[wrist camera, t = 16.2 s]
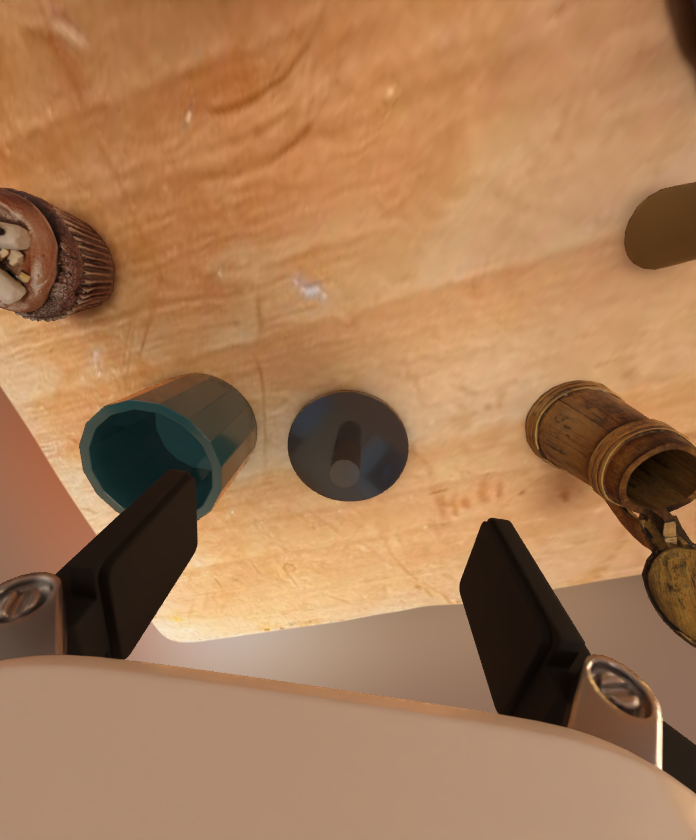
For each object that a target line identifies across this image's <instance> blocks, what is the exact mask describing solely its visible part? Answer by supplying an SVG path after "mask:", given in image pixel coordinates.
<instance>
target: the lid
mask: <svg viewBox="0 0 696 840" xmlns="http://www.w3.org/2000/svg"><path fill="white" fill-rule="evenodd" d="M288 453H289V458H290V461H291V464H292V466H293V469H294V470H295V472H296V474H297V475H298V476H299V478H300V479H301V480H302V481H303V482H304V483H305V484H306V485H307V486H308V487H309V488H311V489H312V490H313V491H315V492H317V493H318V494H320V495H322V496H325V497H327V498H330V499H334V500H339V501H361V500H365V499H369V498H372V497H375V496H377V495H379V494H381V493H383V492H384V491H385V490H387V489H388V488H389V487H391V486H392V485H393V484H394V483H395V482H396V480H397V479H398V478H399V476H400V475H401V473H402V472H403V470H404V467H405V465H406V462H407V458H408V438H407V434H406V430H405V427H404V425H403V423H402V421H401V419H400V418H399V416H398V415H397V414H396V412H395V411H394V410H393V409H392V408H391V407H390V406H389V405H387V404H386V403H385V402H383V401H382V400H380V399H379V398H377V397H375V396H373V395H370V394H367V393H364V392H359V391H352V390H341V391H334V392H330V393H327V394H324V395H322V396H319V397H317V398H316V399H314V400H312V401H311V402H309V403H308V404H307V405H306V406H305V407H304V408H303V409H302V410H301V411H300V412H299V414H298V415H297V417H296V418H295V420H294V422H293V424H292V426H291V429H290V432H289V437H288Z"/></svg>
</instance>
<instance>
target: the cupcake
mask: <svg viewBox="0 0 696 840" xmlns="http://www.w3.org/2000/svg"><path fill="white" fill-rule="evenodd" d="M113 277H114V265H113V262H112V259H111V254H110V252H109V249H108V248H107V246H106V244H105V242H103V241H102V239H101V237H100V236H99V235H97V233H96V232H95V231H94V230H93V229H92V228H91V227H90V226H89V225H87V224H86V223H84V222H83V221H81V220H79V219H77V218H76V217H74V216H72V215H71V214H69V213H67V212H65V211H62V210H60V209H58V208H57V207H55V206H53V205H52V204H50V203H48V202H47V201H45V200H43V199H41V198H38V197H36V196H33V195H31V194H28V193H25V192H23V191H17V190H14V189H11V188H0V308H3V309H6V310H9V311H13V312H14V313H15V314H16V315H22V317H23V318H25V319H28V318H30V319H31V320H32V321H33V320H37V321H38V322H39V321H41V320H44V321H46V322H49V321H51V320H52V321H55V320H58V319H63V318H65V317H67V316H69V315H71V314H74V313H77V312H80V311H83V310H87V309H91V308H93V307H96V306H99V305H102V303H103V302H104V301H105V300H106V299H108V298H109V295H110V293H111V292H112V291H113V285H112V282H113Z"/></svg>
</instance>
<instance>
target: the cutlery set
mask: <svg viewBox="0 0 696 840" xmlns="http://www.w3.org/2000/svg"><path fill="white" fill-rule="evenodd" d="M691 1H692V5H693V8H694V12H695V15H696V0H691Z"/></svg>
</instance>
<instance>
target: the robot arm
mask: <svg viewBox="0 0 696 840" xmlns="http://www.w3.org/2000/svg"><path fill="white" fill-rule="evenodd" d="M196 548H197V506H196V479H195V477H191V474H190V472H188V471H182V470H175V469H169V470H168V471H167V472H166V473H164V474H163V475H162V476H161V477H160V478H159V479H158V480H157V481H156V482H155V483H154V484H153V485H152V486H151V487H150V488H148V489H147V490H146V491H145V492H144V493H143V494H142V495H141V496H140V497H139V498H138V499H137V500H136V501H135V502H134V503H132V504H131V505H130V506H129V507H128V508H127V509H125V510H124V511H123V512H122V513H121V514H120V515H119V516H117V517H116V518H115V519H114V520H113V521H112V522H111V523H110V524H109V525H108V526H107V527H106V528H105V529H104V530H102V531H101V532H100V533H99V534H98V535H97V536H96V537H95V538H94V539H93V540H92V541H91V542H90V543H89V544H88V545H87V546H85V547H84V548H83V549H82V550H81V551H80V552H79V553H78V554H77V555H76V556H75V557H74V558H72V559H71V560H70V561H69V562H68V563H67V564H66V565H65V566H64V567H63V568H62V569H61V570H60V571H59V572H57V573H56V574H51V573H47V572H38V573H30V574H25V575H21V576H18V577H15V578H13V579H10V580H7V581H6V582H4V583H2V584H0V840H696V745H695V744H693V743H692V742H691V741H690V740H688V739H687V738H686V737H684V736H683V735H682V734H680V733H679V732H678V731H676V730H675V729H674V728H672V727H671V726H669V725H668V724H667V723H665V722H664V721H663V716H662V711H661V707H660V705H659V703H658V701H657V699H656V697H655V695H654V694H653V692H652V691H651V690H650V688H649V687H648V686H647V685H646V684H645V682H644V681H643V680H642V679H641V678H639V677H638V676H637V675H636V674H635V673H634V672H633V671H631V670H630V669H629V668H627V667H626V666H625V665H623V664H621V663H620V662H618V661H616V660H614V659H613V658H610V657H607V656H604V655H597V654H593V655H591V654H590V653H589V651H588V649H587V648H586V646H585V642H584V640H583V639H582V637H581V636H580V634H579V632H578V631H577V629H576V627H575V626H574V624H573V622H572V621H571V619H570V618H569V616H568V614H567V613H566V611H565V609H564V608H563V606H562V605H561V603H560V601H559V600H558V598H557V596H556V595H555V593H554V592H553V590H552V588H551V587H550V585H549V583H548V582H547V580H546V578H545V577H544V575H543V574H542V572H541V570H540V569H539V567H538V565H537V564H536V562H535V561H534V559H533V557H532V556H531V554H530V552H529V551H528V549H527V548H526V546H525V544H524V543H523V541H522V539H521V538H520V536H519V535H518V533H517V531H516V530H515V528H514V526H513V525H512V523H511V522H510V521H508V520H503V519H496V518H489V519H488V521H487V522H486V521H484V522H483V523H482V524H481V527H480V530H479V532H478V535H477V538H476V540H475V543H474V546H473V549H472V551H471V554H470V557H469V559H468V562H467V565H466V567H465V570H464V573H463V575H462V578H461V581H460V595H461V598H462V602H463V605H464V608H465V611H466V615H467V618H468V621H469V624H470V628H471V631H472V634H473V637H474V641H475V644H476V647H477V650H478V654H479V657H480V660H481V663H482V667H483V670H484V673H485V676H486V680H487V683H488V686H489V689H490V693H491V696H492V699H493V702H494V706H495V708H496V710H497V712H498V713H499V714H495V713H489V712H483V711H477V710H471V709H464V708H458V707H451V706H444V705H438V704H431V703H425V702H418V701H411V700H405V699H399V698H392V697H385V696H378V695H372V694H365V693H359V692H352V691H345V690H338V689H331V688H325V687H318V686H311V685H304V684H297V683H290V682H283V681H276V680H269V679H262V678H255V677H248V676H241V675H234V674H226V673H219V672H213V671H205V670H198V669H191V668H184V667H177V666H170V665H162V664H153V663H146V662H137V661H129V660H124V659H126V658H127V657H128V656H129V655H130V654H131V652H132V650H133V649H134V647H135V646H136V644H137V643H138V641H139V640H140V638H141V636H142V635H143V633H144V632H145V630H146V629H147V627H148V625H149V624H150V622H151V621H152V619H153V618H154V616H155V615H156V613H157V611H158V610H159V608H160V607H161V605H162V604H163V602H164V600H165V599H166V597H167V596H168V594H169V593H170V591H171V589H172V588H173V586H174V585H175V583H176V582H177V580H178V578H179V577H180V575H181V574H182V572H183V571H184V569H185V567H186V566H187V564H188V563H189V561H190V560H191V558H192V556H193V555H194V553H195V551H196ZM121 659H123V660H121Z"/></svg>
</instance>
